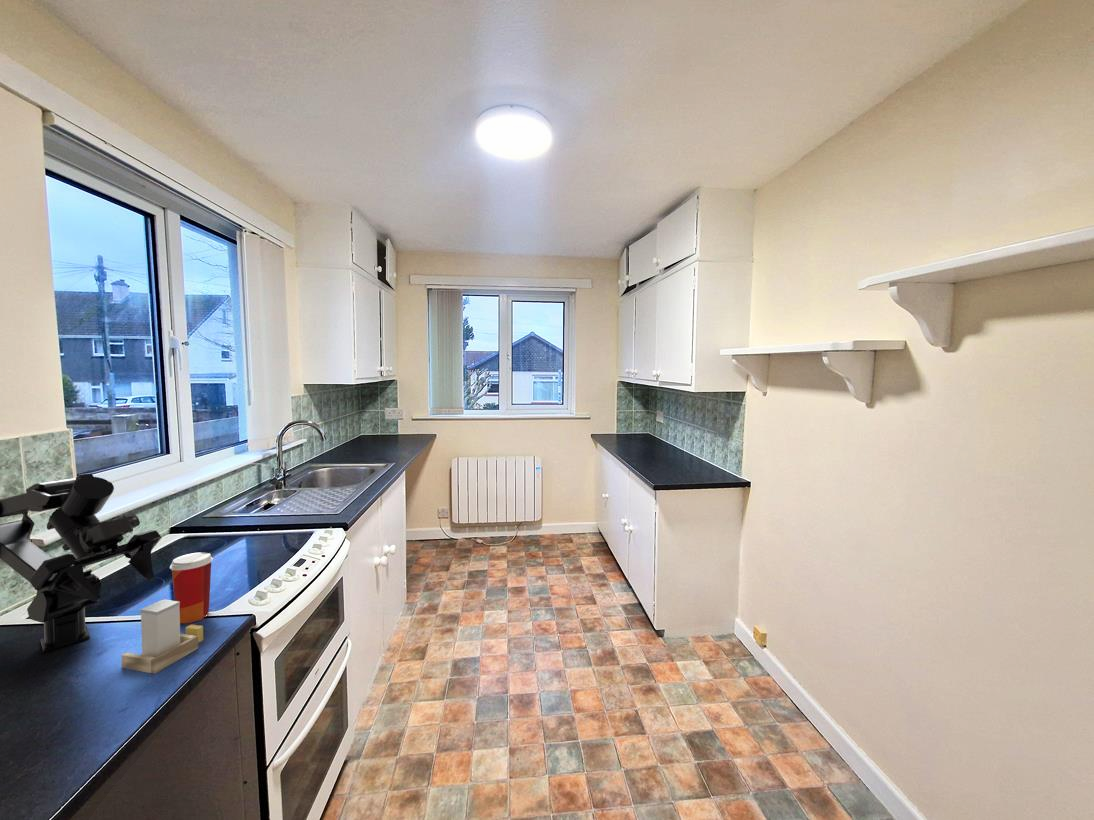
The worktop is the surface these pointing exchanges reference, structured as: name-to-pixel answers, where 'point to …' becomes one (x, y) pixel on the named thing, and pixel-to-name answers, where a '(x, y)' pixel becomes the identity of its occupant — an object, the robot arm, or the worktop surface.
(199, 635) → the mustard block
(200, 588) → the paper cup
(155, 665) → the bay
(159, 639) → the white plug
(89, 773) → the worktop surface
